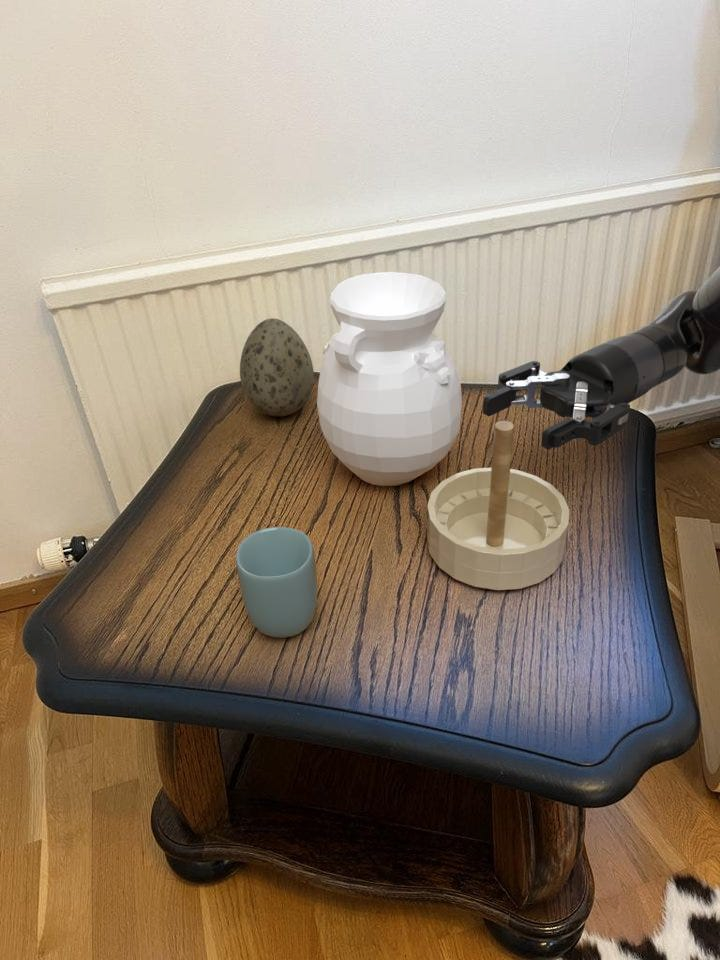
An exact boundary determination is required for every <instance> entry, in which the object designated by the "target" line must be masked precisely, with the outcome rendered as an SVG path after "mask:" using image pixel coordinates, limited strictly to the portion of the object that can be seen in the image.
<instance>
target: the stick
mask: <svg viewBox="0 0 720 960" xmlns="http://www.w3.org/2000/svg"><path fill="white" fill-rule="evenodd" d="M493 428H494V429H493V444H492V456H491V467H492V468H491V481H490V495H489V509H488V522H487V536H486V542H487V544H488V545H490V546H492V547H499V546H501V545H502V544H503V542H504V531H505V520H506V510H507V499H508V488H509V477H510V469H511V466H512V465H511V464H512V454H513V443H514V432H515V425H514V423H513V422H512V421H509V420H499V421H497V422H495V423H494V427H493Z"/></svg>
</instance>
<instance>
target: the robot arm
mask: <svg viewBox="0 0 720 960" xmlns="http://www.w3.org/2000/svg"><path fill="white" fill-rule="evenodd" d="M685 368H686V369H687V370H688V371H689V372H691V373H693V374H696V375H711V374H713V373H717V372H718V371H720V266H718V267H717V269H715V271H714V272H713V273H712V274H711V275H710V276H709V278H707V280H705V282H704V283H703V284H702V285H701V286H700V287H699V288H698V289H697V290H696V289H690V290H685V291H683V292H680V293H678V294H677V295H676V296H674V297H673V298H672V299H671V300H669V302H667V303H666V304H665V306H663V307H662V309H661V310H659V312H658V313H657V315H655V317H654V318H653V319H652V320H651V321H650V322H649V323H647V324H645V325H644V326H642V327H640V328H638V329H635V330H633V331H631V332H628V333H626V334H625V335H621V336H618V337H613V338H612V339H609V340H607V341H604V342H603V343H600V344H599V345H596V346H594V347H592V348H590V349H588V350H586V351H583V352H582V353H579V354H576V355H575V356H573V357H571V358H570V359H569V360H568V361H567V362H566V364H565V365H564V366H562V368H561V369H560V370H556V371H549V372H546V371H543V370H542V369H541V362H540V361H538V360H531V361H529V362H526V363H524V364H522V365H519V366H517V367H514V368H511V369H509V370H506V371H504V372H501V373H499V374H498V379H497V390H494V391H493V392H490V393H488V394H486V395H485V396H484V397H483V402H482V414H483V415H485V416H487V417H491V416H493V415H496V414H497V413H500V412H502V411H504V410H506V409H508V408H510V407H511V406H516V405H518V406H519V405H524V406H526V407H527V408H528V409H545V410H548V411H551V412H554V413H555V414H556V415H557V416H559V417H560V418H562V420H561V421H559V422H556V423H554V424H552V425H550V426H549V427H547V428H545V429H544V430H543V432H542V436H541V444H540V445H541V447H542V448H544V449H545V450H546V451H549V450H551V449H556V448H560V447H561V446H563V445H565V444H567V443H569V442H571V441H580V440H582V439H584V440H587V443H588V445H590V446H599V445H600V444H601V443H604V442H605V441H606V440H608V439H609V438H611V437H612V436H614V435H615V434H617V433H619V432H620V431H622V430H623V429H625V428H626V427H627V424H628V420H629V415H630V409H631V404H630V403H632V402H633V401H636V400H637V399H639V398H641V397H643V396H644V395H646V394H648V392H650V391H651V390H652V389H653V388H655V387H657V386H659V385H660V384H663V383H665V382H667V381H668V380H670V379H671V380H672V378H674V377H676V376H678V375H679V374H680V373H681V372H682V371H683V370H684V369H685ZM538 386H541V387H540V393H539V394H540V395H539V398H535V392H536V388H537V387H538ZM522 390H525V393H524V394H523V395H517V392H520V391H522ZM565 417H566V418H565ZM586 418H593V419H592V420H590V421H589V420H586Z"/></svg>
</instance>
